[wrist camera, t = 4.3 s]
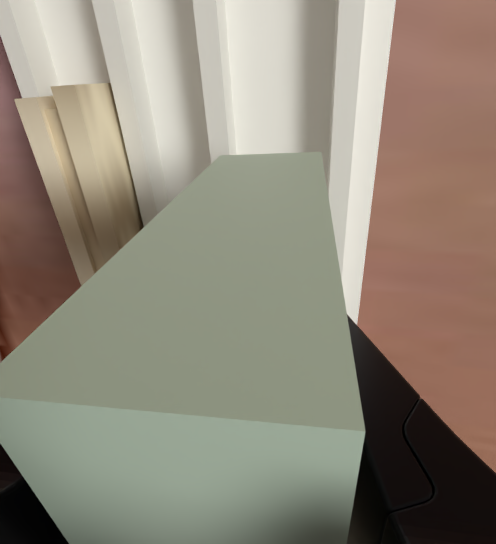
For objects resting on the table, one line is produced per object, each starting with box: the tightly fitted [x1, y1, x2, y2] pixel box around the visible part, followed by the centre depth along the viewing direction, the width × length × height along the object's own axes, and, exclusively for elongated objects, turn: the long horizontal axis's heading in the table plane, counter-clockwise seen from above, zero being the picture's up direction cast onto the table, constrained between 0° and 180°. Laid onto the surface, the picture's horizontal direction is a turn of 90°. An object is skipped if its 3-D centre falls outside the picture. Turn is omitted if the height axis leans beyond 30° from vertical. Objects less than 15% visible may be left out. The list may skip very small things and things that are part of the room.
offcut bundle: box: [14, 83, 144, 286], centre depth 16 cm, size 11×3×4 cm, turn 4°
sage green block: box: [0, 152, 365, 544], centre depth 8 cm, size 6×3×9 cm, turn 4°
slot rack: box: [0, 0, 396, 325], centre depth 16 cm, size 20×15×2 cm
